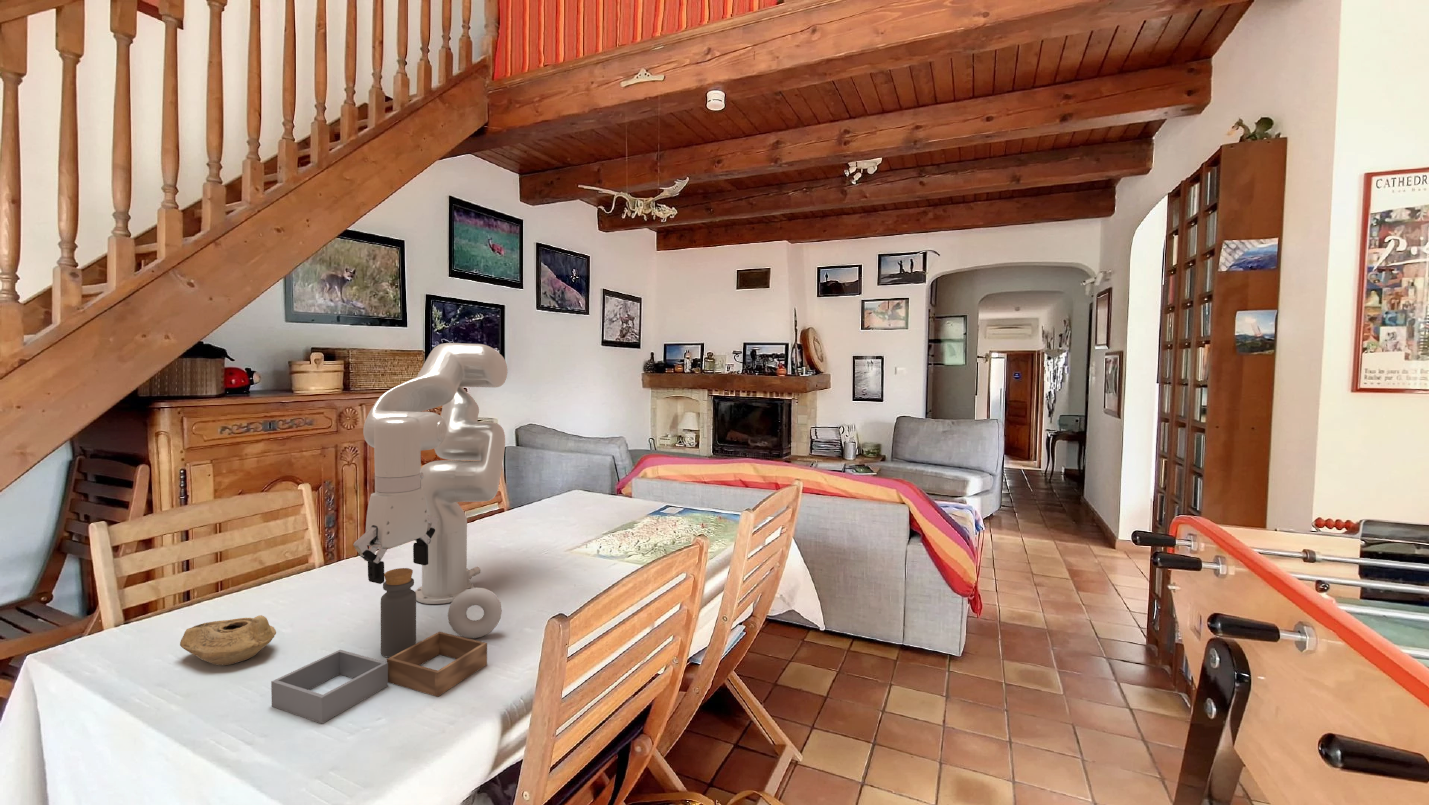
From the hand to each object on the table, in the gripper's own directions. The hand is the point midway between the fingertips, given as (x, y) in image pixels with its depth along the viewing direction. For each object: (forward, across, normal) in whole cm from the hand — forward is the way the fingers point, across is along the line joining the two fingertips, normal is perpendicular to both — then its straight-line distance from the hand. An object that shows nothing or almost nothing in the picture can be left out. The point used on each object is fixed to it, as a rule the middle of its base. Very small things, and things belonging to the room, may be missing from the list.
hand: (399, 572), depth 108 cm
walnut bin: (+14, +4, +14) cm, 20 cm away
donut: (+15, -9, +10) cm, 20 cm away
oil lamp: (+15, +15, -24) cm, 32 cm away
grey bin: (+14, +16, +4) cm, 22 cm away
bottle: (+15, +1, 0) cm, 15 cm away
